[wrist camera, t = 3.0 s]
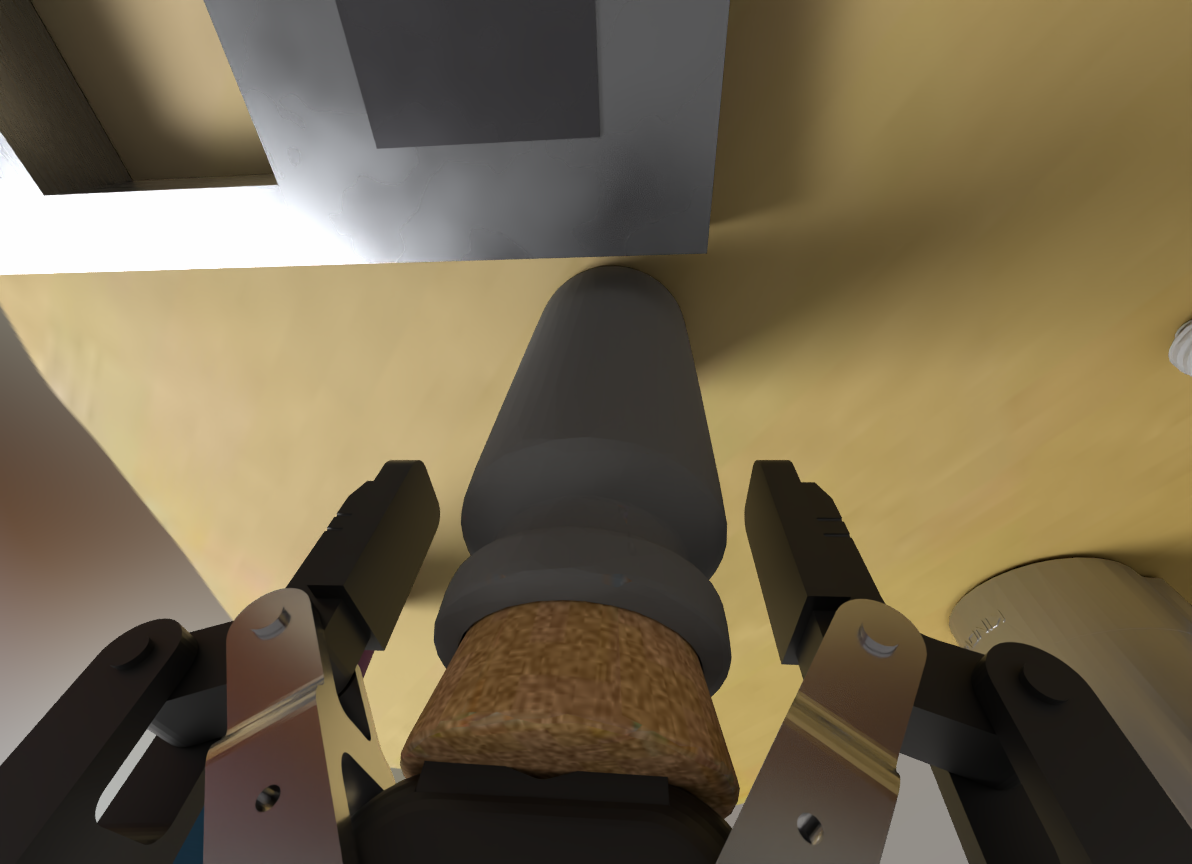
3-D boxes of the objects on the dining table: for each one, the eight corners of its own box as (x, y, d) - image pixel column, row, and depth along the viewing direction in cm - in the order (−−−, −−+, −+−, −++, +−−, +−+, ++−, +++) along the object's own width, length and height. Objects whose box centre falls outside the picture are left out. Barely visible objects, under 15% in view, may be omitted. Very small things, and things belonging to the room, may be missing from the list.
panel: (746, -443, 9) (790, -658, 6) (696, 229, 16) (707, 254, 13) (-300, -280, 11) (-580, -392, 8) (69, 250, 18) (-22, 276, 15)
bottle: (681, 399, 20) (751, 868, 8) (548, 400, 20) (421, 840, 8) (691, 261, 16) (842, 716, 4) (531, 265, 17) (271, 686, 5)
